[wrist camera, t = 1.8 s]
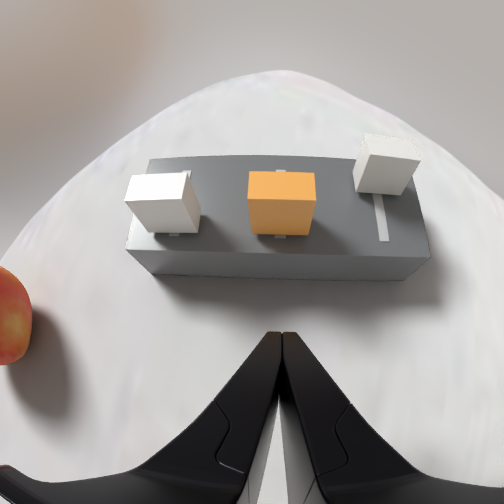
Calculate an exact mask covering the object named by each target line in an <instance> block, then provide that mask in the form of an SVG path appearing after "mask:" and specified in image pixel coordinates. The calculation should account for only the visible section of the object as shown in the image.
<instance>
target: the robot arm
mask: <svg viewBox="0 0 504 504" xmlns="http://www.w3.org/2000/svg"><path fill="white" fill-rule="evenodd" d="M278 401H279V409H280V419H281V429H282V439H283V449H284V460H285V470H286V481H287V492H288V503H289V504H504V487H503V488H497V487H486V486H478V485H471V484H465V483H459V482H454V481H449V480H444V479H439V478H434V477H431V476H428V475H426V474H424V473H422V472H420V471H419V470H417V469H416V468H415V467H413V466H412V465H411V464H410V463H409V462H408V461H407V460H406V459H404V458H403V457H402V456H401V455H400V454H399V453H398V452H397V451H396V450H395V449H394V448H393V447H392V446H390V445H389V444H388V443H387V442H386V441H385V440H384V439H383V438H382V437H381V436H380V435H379V434H378V433H377V432H376V431H375V430H374V429H373V428H372V427H371V426H370V425H369V424H368V423H367V421H366V420H365V419H364V418H363V417H362V416H361V414H360V413H359V412H358V411H357V410H356V408H355V407H354V406H353V404H350V401H349V399H348V398H347V397H346V396H345V394H344V393H343V392H342V391H341V389H340V388H339V387H338V385H337V384H336V383H335V382H334V380H333V379H332V378H331V376H330V375H329V374H328V373H327V371H326V370H325V369H324V367H323V366H322V365H321V364H320V362H319V361H318V360H317V358H316V357H315V356H314V355H313V353H312V352H311V351H310V349H309V348H308V347H307V346H306V344H305V343H304V342H303V340H302V339H301V338H300V336H299V335H298V334H297V333H296V332H283V333H281V332H271V331H270V332H267V333H266V334H265V336H264V337H263V338H262V340H261V341H260V342H259V344H258V345H257V346H256V347H255V349H254V350H253V351H252V352H251V354H250V355H249V356H248V358H247V359H246V360H245V361H244V363H243V364H242V365H241V366H240V368H239V369H238V370H237V371H236V373H235V374H234V375H233V376H232V377H231V379H230V380H229V381H228V382H227V384H226V385H225V386H224V387H223V388H222V390H221V391H220V392H219V393H218V394H217V396H216V397H215V398H214V401H211V403H210V404H209V405H208V406H207V407H206V409H205V410H204V411H203V412H202V413H201V414H200V415H199V416H198V417H197V418H196V419H195V420H194V421H193V422H192V423H191V424H190V425H189V426H188V427H187V428H186V429H185V430H184V431H182V432H181V433H180V434H179V435H178V436H177V437H176V438H174V439H173V440H172V441H171V442H169V443H168V444H167V445H166V446H165V447H163V448H162V449H161V450H160V451H158V452H157V453H156V454H155V455H153V456H152V457H151V458H150V459H148V460H147V461H146V462H144V463H143V464H141V465H140V466H138V467H136V468H134V469H132V470H130V471H127V472H124V473H119V474H114V475H109V476H104V477H98V478H91V479H85V480H77V481H69V482H58V483H49V482H41V481H38V480H34V479H32V478H29V477H27V476H26V475H24V474H23V473H21V472H20V471H18V470H16V469H15V468H13V467H11V466H9V465H0V496H2V497H3V498H4V499H6V500H7V501H8V502H10V503H11V504H257V500H258V496H259V492H260V488H261V484H262V479H263V475H264V471H265V466H266V462H267V457H268V452H269V448H270V443H271V438H272V433H273V429H274V424H275V419H276V413H277V408H278Z"/></svg>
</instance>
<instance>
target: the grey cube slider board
mask: <svg viewBox="0 0 504 504" xmlns="http://www.w3.org/2000/svg"><path fill="white" fill-rule="evenodd" d="M355 163H356V160H355V159H342V158H327V157H307V156H275V155H229V156H197V157H177V158H162V159H150V161H149V164H148V167H147V170H146V174H163V173H183V172H187V173H188V176H189V179H190V181H191V184H192V186H193V189H194V191H195V194H196V196H197V199H198V202H199V204H200V207H201V215H200V222H199V228H198V233H148V231H147V230H146V229H145V227H144V226H143V225H142V224H141V222H140V221H139V220H138V218H137V217H136V216H135V214H134V216H133V220H132V224H131V228H130V232H129V236H128V240H127V244H126V250H127V251H128V252H129V253H130V254H131V255H132V256H133V257H134V258H135V259H136V260H137V261H138V262H139V263H140V264H141V265H142V266H143V267H144V268H145V269H147V270H148V271H149V272H150V273H151V274H170V275H190V276H213V277H238V278H268V279H308V280H405V279H406V278H407V277H408V276H410V275H411V274H412V273H413V272H414V271H416V270H417V269H418V268H419V267H420V266H421V265H423V264H424V263H425V262H426V261H427V260H428V259H429V258H431V257H430V251H429V246H428V240H427V235H426V230H425V225H424V221H423V216H422V212H421V208H420V204H419V200H418V196H417V192H416V188H415V184H414V181H413V177H411V179H410V180H409V182H408V184H407V185H406V187H405V189H404V191H403V192H402V194H401V195H389V194H377V193H363V192H356V190H355V184H354V178H353V169H354V166H355ZM249 171H269V172H305V173H314V177H315V191H316V203H315V208H314V212H313V217H312V221H311V226H310V230H309V234H308V236H307V235H271V234H252V229H251V222H250V215H249V208H248V200H247V196H248V183H249ZM146 174H145V175H146Z"/></svg>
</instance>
